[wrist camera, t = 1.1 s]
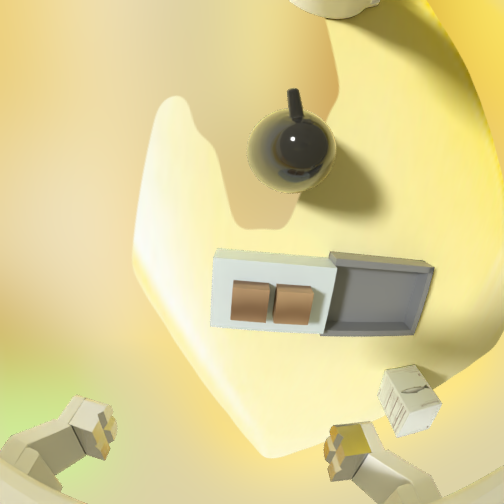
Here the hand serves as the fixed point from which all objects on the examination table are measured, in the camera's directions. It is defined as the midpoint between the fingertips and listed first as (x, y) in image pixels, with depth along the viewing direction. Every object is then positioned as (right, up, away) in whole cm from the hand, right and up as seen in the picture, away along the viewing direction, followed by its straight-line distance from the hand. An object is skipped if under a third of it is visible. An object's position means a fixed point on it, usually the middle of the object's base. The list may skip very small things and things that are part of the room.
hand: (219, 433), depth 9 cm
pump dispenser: (+6, +20, +28) cm, 35 cm away
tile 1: (+1, 0, +29) cm, 29 cm away
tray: (+20, 0, +34) cm, 39 cm away
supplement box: (+30, -19, +40) cm, 53 cm away
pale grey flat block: (+4, +1, +33) cm, 33 cm away
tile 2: (+6, 0, +29) cm, 30 cm away
